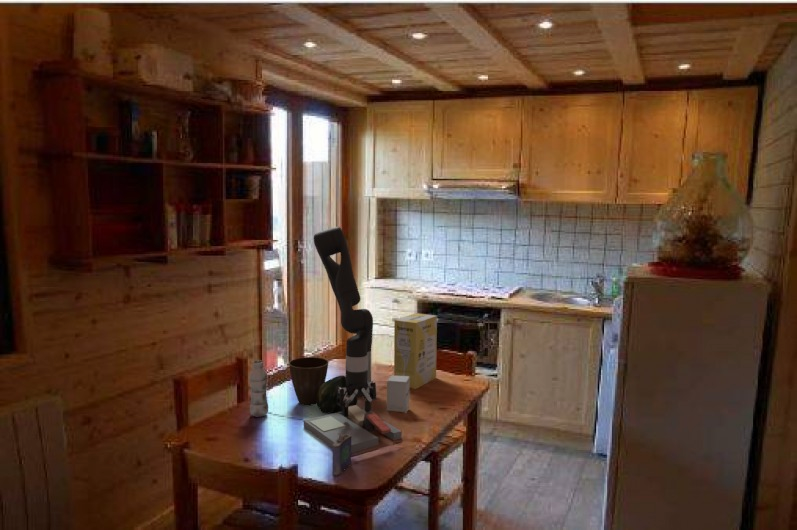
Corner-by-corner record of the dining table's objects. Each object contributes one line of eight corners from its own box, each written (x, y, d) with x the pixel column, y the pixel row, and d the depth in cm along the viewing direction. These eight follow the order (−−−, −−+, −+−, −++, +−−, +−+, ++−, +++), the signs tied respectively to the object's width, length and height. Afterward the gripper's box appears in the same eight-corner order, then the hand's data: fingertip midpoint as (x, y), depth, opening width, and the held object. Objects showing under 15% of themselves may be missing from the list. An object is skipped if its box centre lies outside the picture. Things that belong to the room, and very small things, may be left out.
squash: (310, 392, 214) (318, 370, 203) (348, 388, 220) (357, 367, 209) (317, 426, 205) (325, 405, 195) (356, 422, 211) (366, 401, 201)
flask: (338, 477, 159) (338, 440, 158) (329, 475, 160) (328, 438, 159) (353, 463, 167) (352, 428, 166) (344, 461, 168) (344, 427, 167)
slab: (345, 414, 195) (346, 407, 194) (355, 412, 197) (356, 404, 196) (358, 429, 188) (359, 421, 187) (368, 426, 191) (370, 418, 190)
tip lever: (341, 415, 196) (344, 395, 193) (355, 412, 199) (358, 392, 196) (375, 453, 179) (379, 432, 176) (390, 449, 182) (393, 428, 179)
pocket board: (303, 431, 190) (303, 419, 190) (359, 417, 203) (359, 406, 203) (342, 459, 169) (342, 446, 169) (401, 442, 182) (401, 430, 182)
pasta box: (415, 373, 256) (416, 313, 253) (436, 377, 250) (437, 315, 247) (394, 384, 240) (394, 320, 237) (415, 389, 235) (416, 323, 232)
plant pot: (324, 394, 227) (324, 355, 226) (332, 407, 213) (331, 366, 211) (287, 398, 223) (286, 358, 221) (292, 411, 209) (291, 369, 207)
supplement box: (406, 415, 205) (406, 382, 204) (386, 414, 206) (386, 380, 205) (409, 408, 212) (410, 376, 211) (390, 407, 214) (390, 374, 212)
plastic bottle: (272, 413, 206) (271, 360, 204) (260, 420, 200) (259, 365, 198) (258, 411, 209) (257, 358, 206) (246, 417, 203) (244, 363, 200)
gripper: (343, 374, 183) (344, 422, 185) (380, 367, 191) (380, 413, 193) (332, 368, 189) (333, 415, 191) (368, 362, 198) (368, 407, 199)
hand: (356, 414), depth 192 cm, fingers open, 8 cm apart
